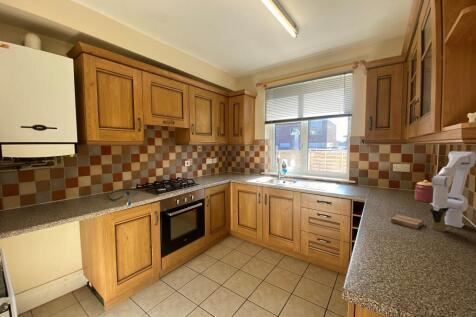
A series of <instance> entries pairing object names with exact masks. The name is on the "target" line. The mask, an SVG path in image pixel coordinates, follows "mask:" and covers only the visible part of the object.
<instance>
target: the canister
mask: <svg viewBox="0 0 476 317" xmlns="http://www.w3.org/2000/svg"><path fill="white" fill-rule="evenodd" d="M414 187H415V189H414V197H413V198H414V200H416V201H418V202H424V203H433V192H434V188H433V185H432V182H429V181H428V180H427V179H424V180H423V181H419V182H416V184H415V186H414Z"/></svg>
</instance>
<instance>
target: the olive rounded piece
mask: <svg viewBox="0 0 476 317" xmlns="http://www.w3.org/2000/svg"><path fill="white" fill-rule="evenodd" d="M440 211H442V210H440ZM445 216H446V212H445V211H444V213H443V215H442V217H441V221H440V223H437V222H434V219H433V218H432V222H431V226H430V229H431V230H434V231H438V232H446V231H447V228H446V224H445V218H444V217H445Z"/></svg>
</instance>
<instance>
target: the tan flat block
mask: <svg viewBox="0 0 476 317" xmlns="http://www.w3.org/2000/svg"><path fill="white" fill-rule="evenodd" d="M390 223H393V224H396V225H399V226H403V227H407V228H411V229H414V230H418V229H419V228H421V226H423V224H424V220H423V219H419V218H416V217H411V216H407V215H403V214H397V215H395V216H393V217H391V218H390Z"/></svg>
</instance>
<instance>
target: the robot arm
mask: <svg viewBox="0 0 476 317" xmlns="http://www.w3.org/2000/svg"><path fill="white" fill-rule="evenodd" d="M447 156H448V163H447V165H446V166H443V167H442V168H441V169H440V171H439V172H438V173H437V175H433V177H432V178H431V183H432V185H433V188H434V192H433V202H429V205H431V206H433V207H431V208H429V211H430V213H431V215H432V220H433V219H434V222H437V223H440V221H441V217H442V215H443V213H444V211H445V212H446V216H445V217H444V218H445V226H451V227H453V228H454V227H455V228H460V229H462V228H463V227H464V225H465V223H463V214H464V213H463V212H465V211H467V210H468V209H469V208H468V207H469V199H468V198H467V197H466V196H464V195H463V193H464V189H465V186H466V181H467V177H468V173H469V170H470V169H471V168H473V167H475V166H474V165H475V164H476V152H475V151H453V150H451V151H450V152H449V153H448V155H447ZM450 186H451V187H450ZM449 188H451V189H450V192H449ZM440 210H442V211H440Z"/></svg>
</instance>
